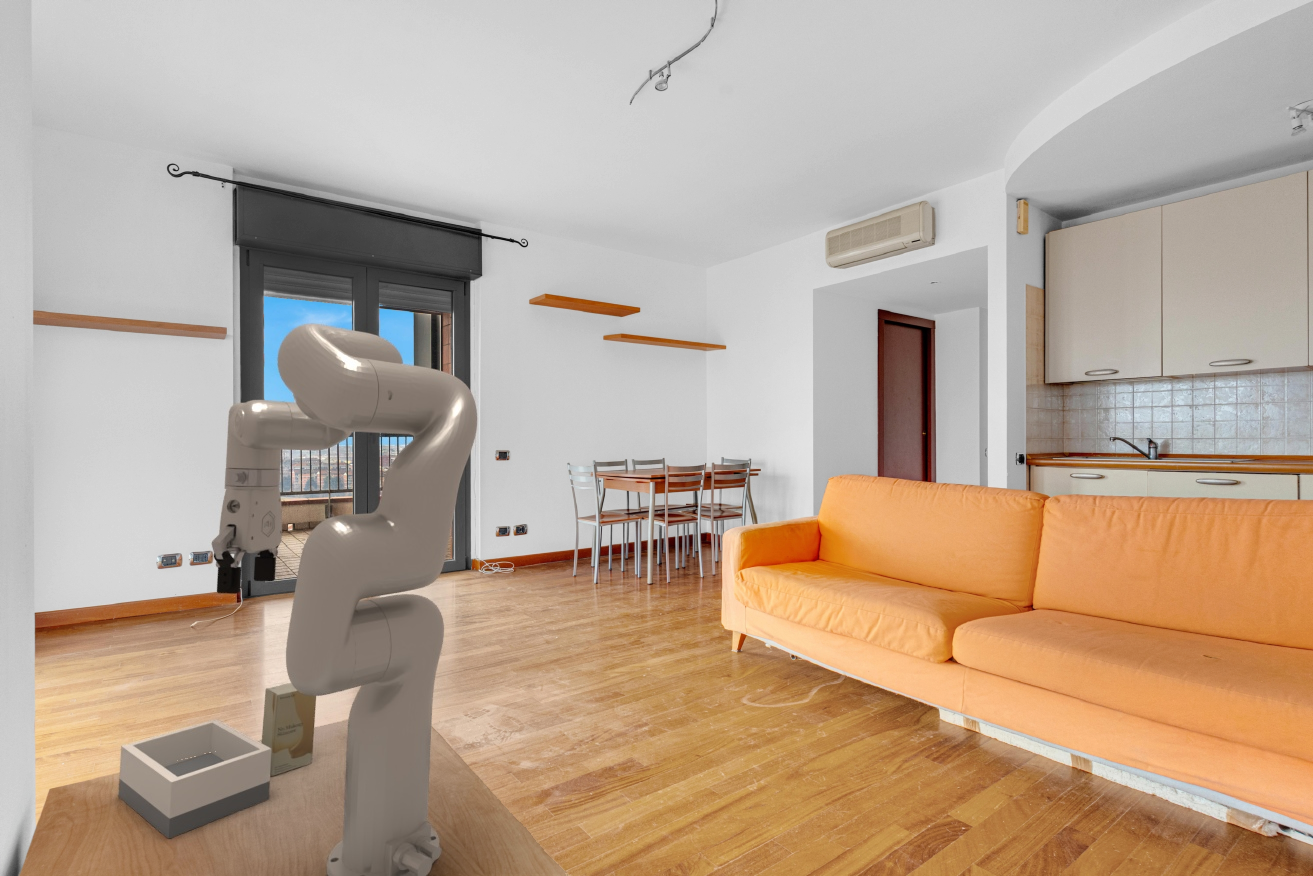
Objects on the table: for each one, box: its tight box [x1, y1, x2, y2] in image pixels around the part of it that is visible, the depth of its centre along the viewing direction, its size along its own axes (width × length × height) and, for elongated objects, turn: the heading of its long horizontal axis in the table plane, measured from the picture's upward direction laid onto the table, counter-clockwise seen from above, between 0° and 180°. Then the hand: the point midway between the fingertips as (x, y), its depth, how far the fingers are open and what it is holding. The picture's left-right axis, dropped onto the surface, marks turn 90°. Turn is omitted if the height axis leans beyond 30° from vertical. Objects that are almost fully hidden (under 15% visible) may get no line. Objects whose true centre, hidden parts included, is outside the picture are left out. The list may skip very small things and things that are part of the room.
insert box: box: [117, 718, 271, 840], centre depth 91 cm, size 17×12×7 cm
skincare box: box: [261, 682, 317, 777], centre depth 101 cm, size 6×4×12 cm
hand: (247, 586), depth 104 cm, fingers open, 9 cm apart
